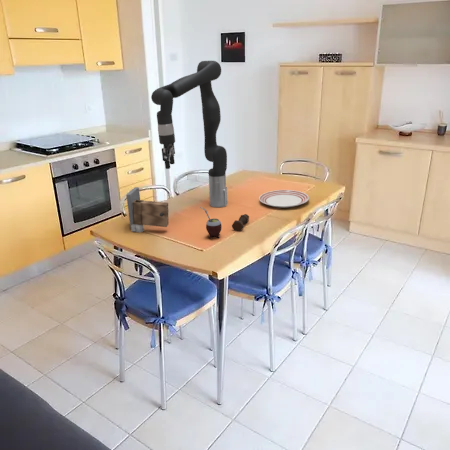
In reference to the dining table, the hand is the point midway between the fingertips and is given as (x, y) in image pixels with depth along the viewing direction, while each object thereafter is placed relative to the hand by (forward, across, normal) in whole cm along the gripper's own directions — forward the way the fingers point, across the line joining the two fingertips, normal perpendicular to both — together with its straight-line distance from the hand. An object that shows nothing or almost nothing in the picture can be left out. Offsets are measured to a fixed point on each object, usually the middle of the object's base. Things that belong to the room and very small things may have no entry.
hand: (170, 166), depth 210 cm
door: (+24, -17, +8) cm, 30 cm away
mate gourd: (+28, -22, -23) cm, 43 cm away
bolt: (+29, -8, -35) cm, 46 cm away
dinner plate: (+30, +28, -54) cm, 69 cm away
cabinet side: (+27, -11, +16) cm, 33 cm away
